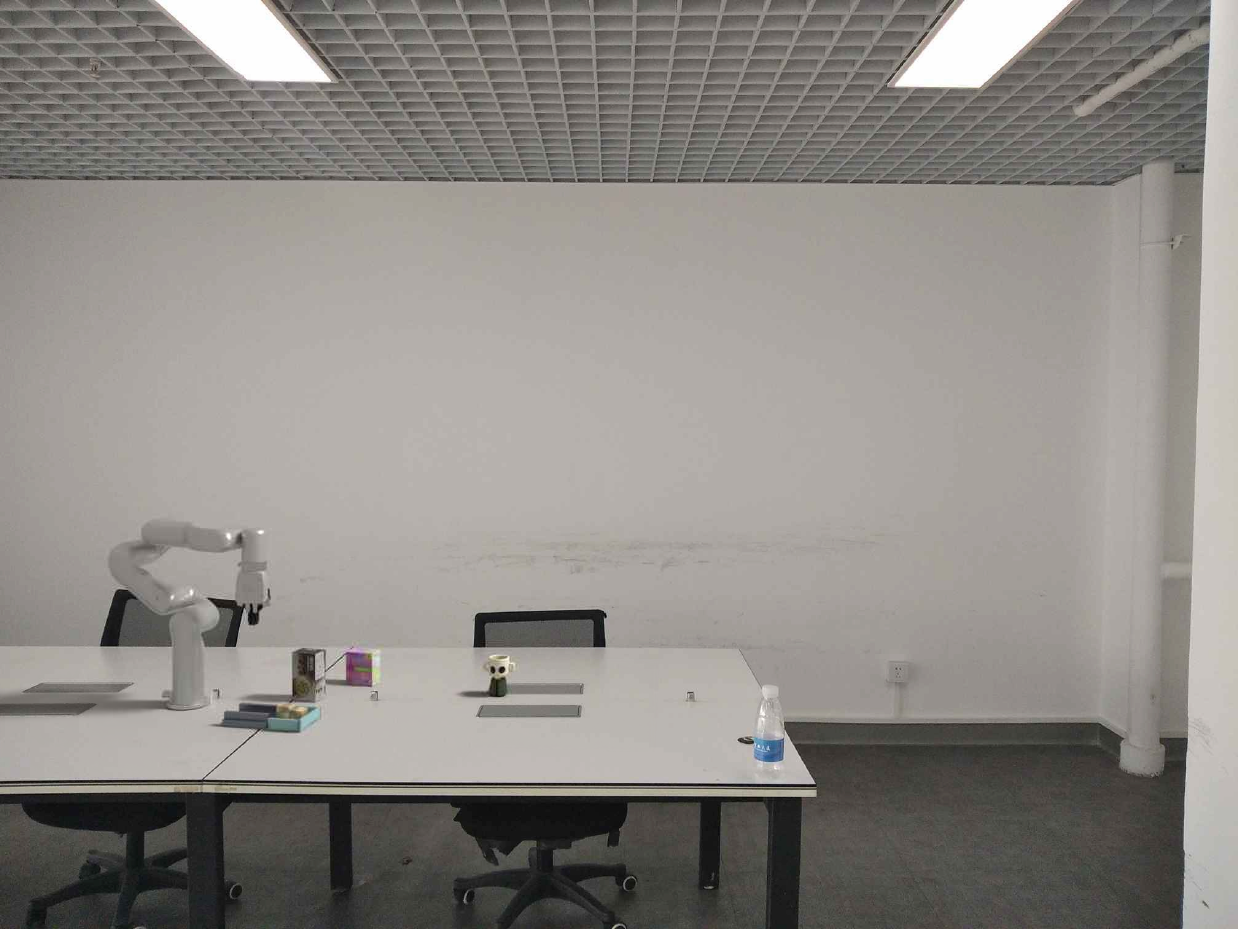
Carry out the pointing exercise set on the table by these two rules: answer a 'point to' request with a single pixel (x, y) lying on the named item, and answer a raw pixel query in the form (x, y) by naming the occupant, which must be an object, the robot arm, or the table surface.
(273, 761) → the table surface
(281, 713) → the chip
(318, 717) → the tray
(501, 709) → the table surface
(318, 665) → the coffee box
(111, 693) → the table surface
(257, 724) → the slot rail
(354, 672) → the box
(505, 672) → the character mug
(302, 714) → the chip
